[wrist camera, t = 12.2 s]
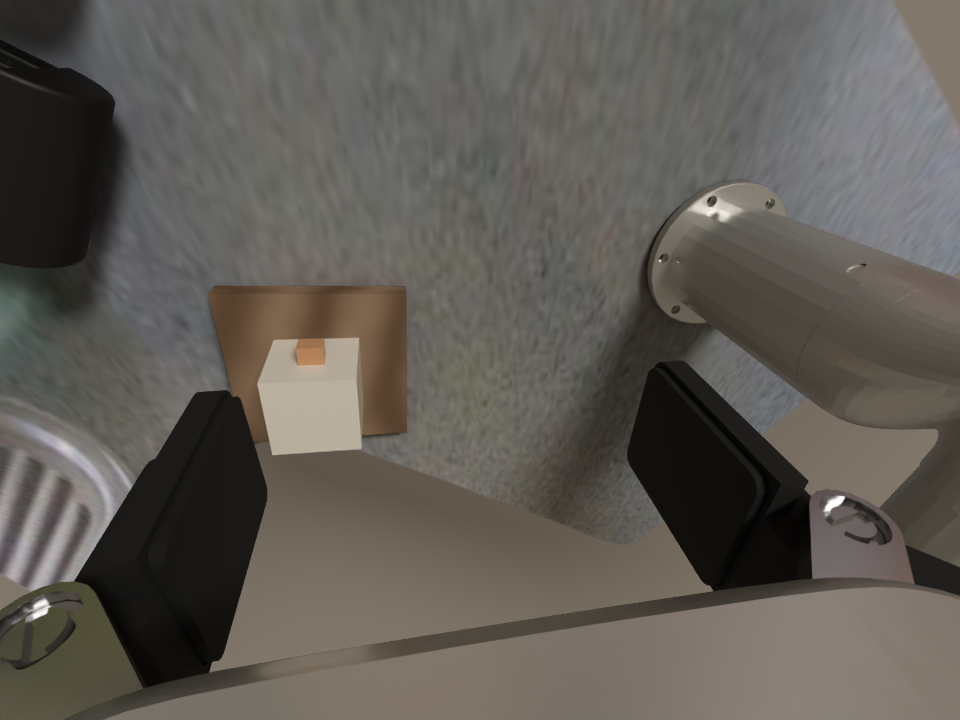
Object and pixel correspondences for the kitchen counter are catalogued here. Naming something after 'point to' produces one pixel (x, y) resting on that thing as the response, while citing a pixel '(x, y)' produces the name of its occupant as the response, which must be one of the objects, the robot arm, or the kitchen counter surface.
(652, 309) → the kitchen counter surface
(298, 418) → the cap
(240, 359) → the post block
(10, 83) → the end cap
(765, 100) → the kitchen counter surface
